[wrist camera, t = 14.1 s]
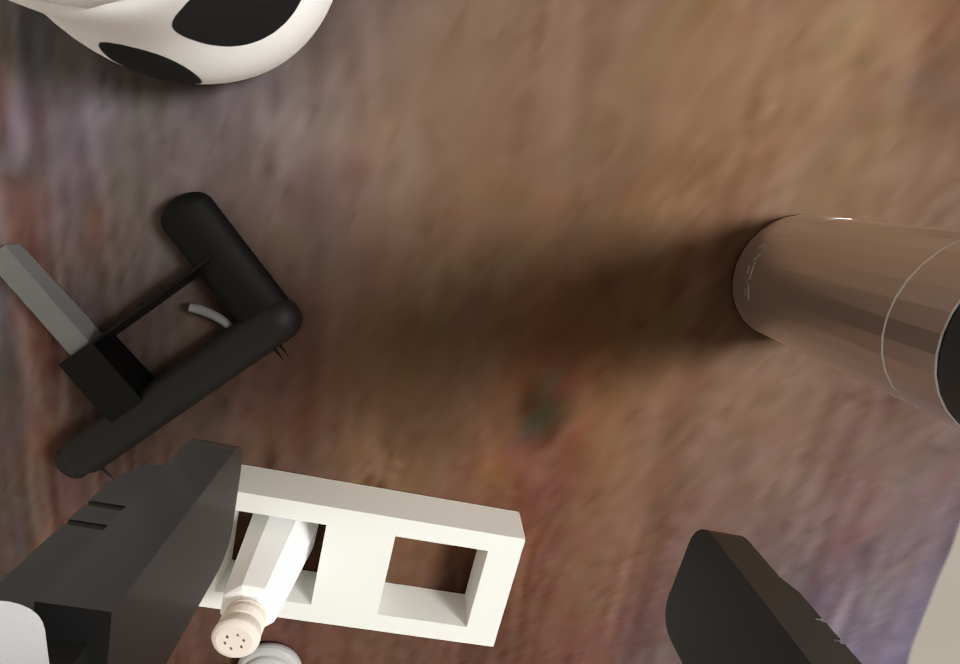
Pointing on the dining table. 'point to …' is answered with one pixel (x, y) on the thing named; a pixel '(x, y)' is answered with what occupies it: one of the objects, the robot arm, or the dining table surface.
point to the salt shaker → (261, 581)
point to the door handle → (102, 356)
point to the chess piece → (271, 655)
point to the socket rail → (383, 556)
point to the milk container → (189, 34)
